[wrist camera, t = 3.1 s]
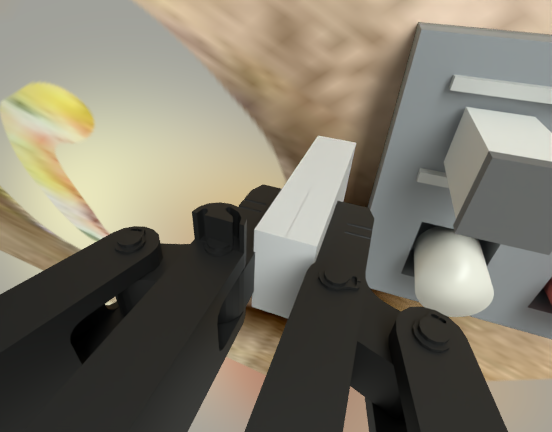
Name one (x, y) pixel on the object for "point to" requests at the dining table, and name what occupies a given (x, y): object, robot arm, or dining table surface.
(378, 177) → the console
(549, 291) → the button red
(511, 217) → the slider knob
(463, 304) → the button cream
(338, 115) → the dining table surface
